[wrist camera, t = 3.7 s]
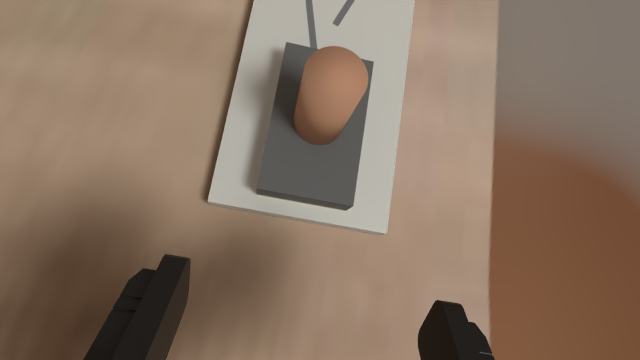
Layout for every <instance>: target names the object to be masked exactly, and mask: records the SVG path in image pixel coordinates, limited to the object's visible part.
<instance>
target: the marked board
mask: <svg viewBox="0 0 640 360" xmlns="http://www.w3.org/2000/svg"><path fill="white" fill-rule="evenodd" d="M414 3H415V0H254V2H253V7H252V11H251V15H250V20H249V24H248V28H247V32H246V37H245V41H244V45H243V50H242V54H241V58H240V63H239V67H238V71H237V76H236V80H235V84H234V89H233V93H232V97H231V102H230V106H229V110H228V115H227V119H226V123H225V128H224V132H223V136H222V141H221V145H220V149H219V154H218V158H217V162H216V166H215V171H214V175H213V179H212V184H211V188H210V192H209V197H208V201H207V202H208V203H209V204H210V205H213V206H219V207H224V208H230V209H235V210H241V211H247V212H252V213H258V214H263V215H269V216H275V217H280V218H286V219H291V220H297V221H302V222H308V223H314V224H319V225H325V226H330V227H336V228H342V229H347V230H353V231H358V232H364V233H370V234H375V235H384V234H387V227H388V219H389V211H390V202H391V194H392V186H393V177H394V169H395V161H396V152H397V144H398V136H399V128H400V119H401V111H402V103H403V94H404V86H405V78H406V69H407V61H408V53H409V44H410V36H411V28H412V20H413V11H414ZM286 42H289V43H294V44H298V45H302V46H307V47H311V48H316V49H321V48H323V47H328V46H339V47H343V48H346V49H349V50H351V51H352V52H354V53H355V54H356V55H358V56H359V57H360V59H364V60H369V61H373V62H374V64H373V71H372V78H371V85H370V92H369V99H368V106H367V114H366V121H365V128H364V135H363V142H362V149H361V156H360V163H359V170H358V177H357V184H356V191H355V198H354V205H353V207H351V208H350V209H348V210H347V211H341V210H336V209H330V208H325V207H320V206H314V205H309V204H303V203H298V202H292V201H287V200H281V199H276V198H271V197H265V196H260V195H257V190H256V188H257V183H258V178H259V173H260V168H261V163H262V158H263V153H264V148H265V143H266V138H267V134H268V129H269V124H270V119H271V114H272V109H273V104H274V99H275V94H276V89H277V84H278V79H279V75H280V70H281V65H282V60H283V55H284V50H285V45H286Z"/></svg>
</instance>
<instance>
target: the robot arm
mask: <svg viewBox="0 0 640 360" xmlns="http://www.w3.org/2000/svg"><path fill="white" fill-rule="evenodd" d="M189 277H190V258H186V257H180V256H174V255H168V254H165V255H164V256H163V258H162V260H161V262H160V264H159V266H158V268H157V270H150V269H144V268H143V269H142V270H141V271H139V272H138V273H137V274H136V275H134V276H133V277H132V278H131V279H130V280H129V281H128V282H127V284H126V286H125V288H124V289H123V291H122V293H121V295H120V298H118V300H117V302H116V304H115V305H114V307H113V310H112V311H111V312H110V314H109V316H108V318H107V319H106V321H105V323H104V325H103V326H102V328H101V330H100V332H99V333H98V335H97V337H96V339H95V340H94V342H93V344H92V346H91V348H90V349H89V351H88V353H87V355H86V356H85V358H84V359H83V360H166V358H167V355H168V352H169V350H170V347H171V344H172V342H173V339H174V336H175V334H176V331H177V328H178V326H179V323H180V320H181V318H182V315H183V312H184V310H185V306H186V303H187V298H188V292H189ZM418 349H419V353H420V358H421V360H495V359H494V357H493V356H492V352H491V349H490V346H489V344H488V341H487V339H486V337H485V336H484V334H483V333H482V332H481V330H480V329H479V328H478V327H477V325H476V324H475V323H473V322H468V319H467V317H466V314H465V311H464V309H463V307H462V305H461V304H458V303H452V302H446V301H440V300H437V301H435V302H434V304H433V306H432V308H431V309H430V311H429V313H428V315H427V317H426V319H425V320H424V322H423V324H422V326H421V328H420V330H419V334H418Z"/></svg>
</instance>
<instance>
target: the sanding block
mask: <svg viewBox="0 0 640 360" xmlns="http://www.w3.org/2000/svg"><path fill="white" fill-rule="evenodd" d="M373 64H374V62H373V61H369V60H364V59H360V57H359V56H358V55H356V54H355V53H354V52H352V51H351V50H349V49H346V48H343V47H339V46H328V47H323V48H321V49H316V48H311V47H307V46H302V45H298V44H294V43H289V42H286V45H285V50H284V55H283V60H282V65H281V70H280V75H279V79H278V84H277V89H276V94H275V99H274V104H273V109H272V114H271V119H270V124H269V129H268V134H267V138H266V143H265V148H264V153H263V158H262V163H261V168H260V173H259V178H258V183H257V188H256V190H257V195H260V196H265V197H271V198H276V199H281V200H287V201H292V202H298V203H303V204H309V205H314V206H320V207H325V208H330V209H336V210H341V211H347V210H348V209H350V208H351V207H353V205H354V198H355V191H356V184H357V177H358V170H359V163H360V156H361V149H362V142H363V135H364V128H365V121H366V114H367V106H368V99H369V92H370V85H371V78H372V71H373Z"/></svg>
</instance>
